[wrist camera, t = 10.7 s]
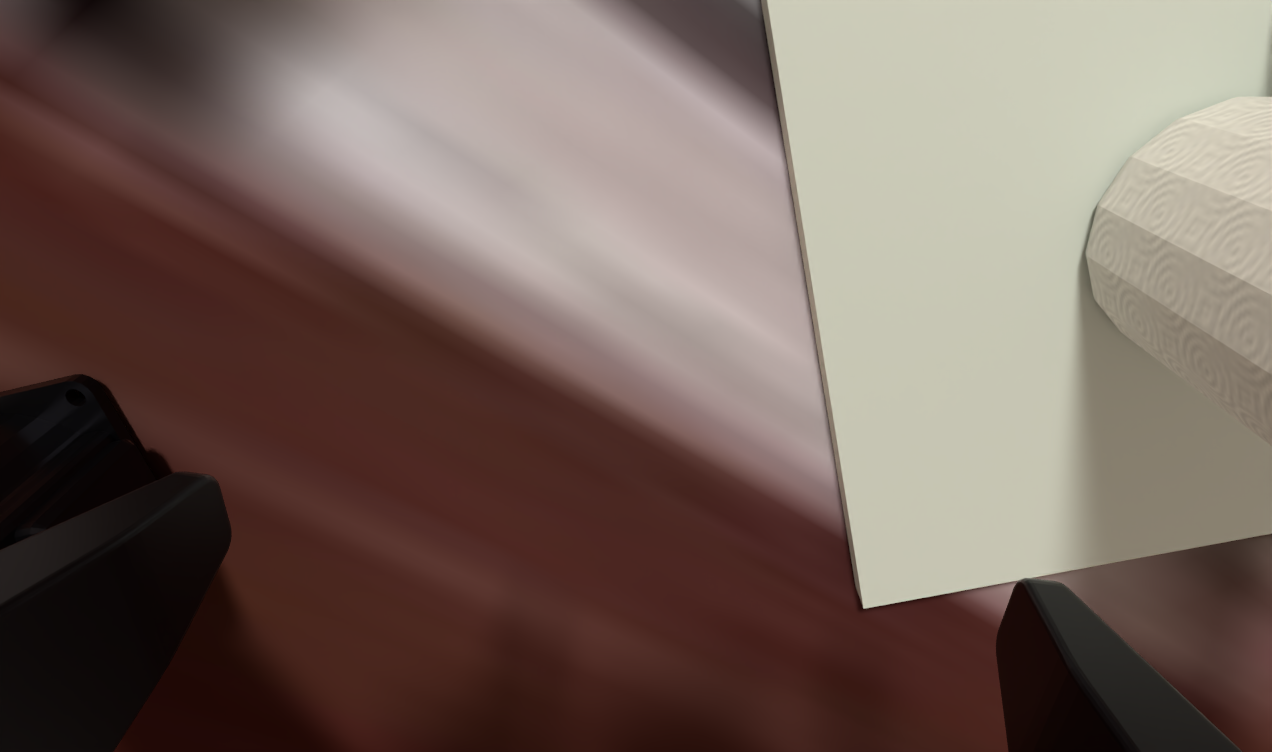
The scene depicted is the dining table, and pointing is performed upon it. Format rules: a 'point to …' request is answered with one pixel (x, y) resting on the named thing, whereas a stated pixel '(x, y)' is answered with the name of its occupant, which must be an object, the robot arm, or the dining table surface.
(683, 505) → the dining table surface
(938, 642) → the dining table surface
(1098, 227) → the paper towel roll
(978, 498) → the sage board
